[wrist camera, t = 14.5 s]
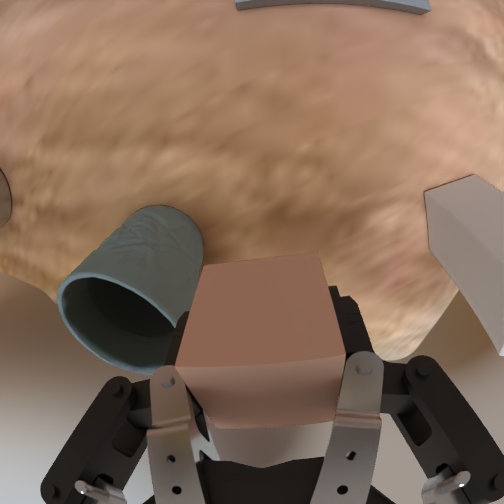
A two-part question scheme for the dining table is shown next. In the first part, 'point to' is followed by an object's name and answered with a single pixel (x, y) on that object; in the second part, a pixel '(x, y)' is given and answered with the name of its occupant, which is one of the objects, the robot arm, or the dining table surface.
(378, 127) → the dining table surface
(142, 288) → the teal cup
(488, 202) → the milk carton
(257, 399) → the terracotta block
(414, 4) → the base board
